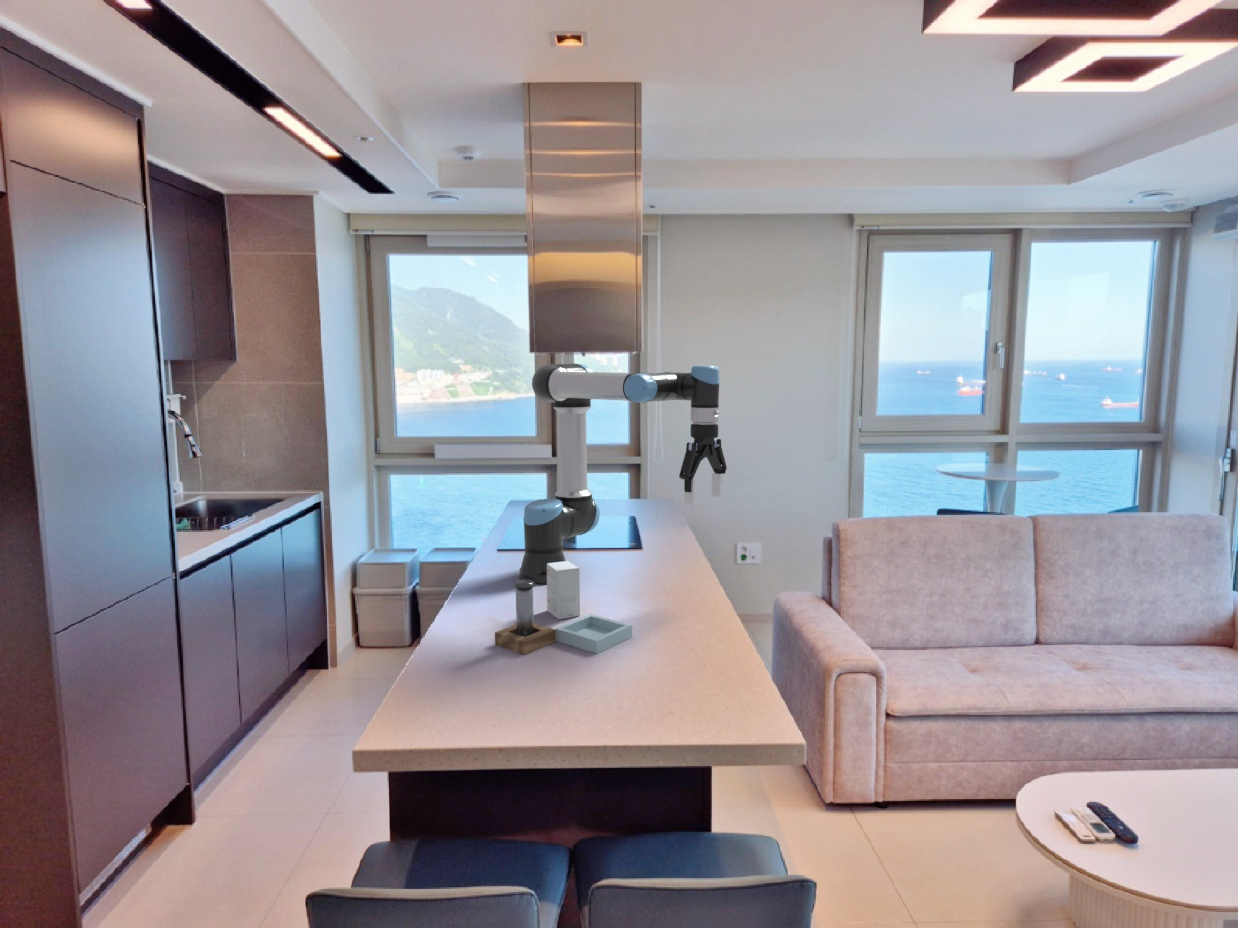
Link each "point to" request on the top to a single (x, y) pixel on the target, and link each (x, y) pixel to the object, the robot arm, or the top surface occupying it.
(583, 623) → the tray
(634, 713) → the top surface
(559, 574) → the small box
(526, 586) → the pin
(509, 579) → the top surface
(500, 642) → the socket block
